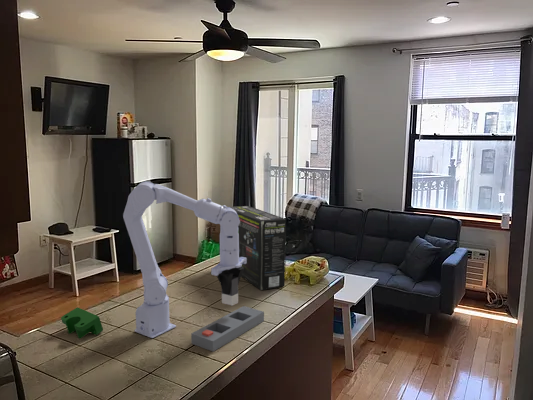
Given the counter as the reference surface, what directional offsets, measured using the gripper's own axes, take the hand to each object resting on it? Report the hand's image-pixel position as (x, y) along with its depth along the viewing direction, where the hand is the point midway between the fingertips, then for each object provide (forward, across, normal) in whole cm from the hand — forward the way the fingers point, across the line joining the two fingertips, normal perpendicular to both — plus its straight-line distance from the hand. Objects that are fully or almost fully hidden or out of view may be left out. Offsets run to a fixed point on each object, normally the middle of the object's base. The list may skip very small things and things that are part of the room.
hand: (230, 291), depth 134 cm
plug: (+3, 0, 0) cm, 3 cm away
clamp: (+10, -30, +32) cm, 45 cm away
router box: (+11, +42, +21) cm, 48 cm away
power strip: (+10, -4, -3) cm, 11 cm away
